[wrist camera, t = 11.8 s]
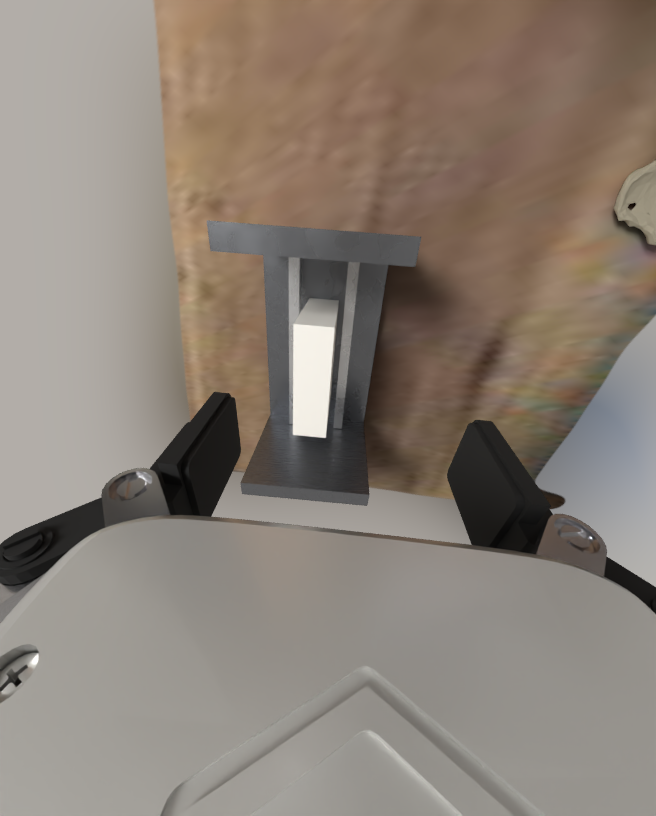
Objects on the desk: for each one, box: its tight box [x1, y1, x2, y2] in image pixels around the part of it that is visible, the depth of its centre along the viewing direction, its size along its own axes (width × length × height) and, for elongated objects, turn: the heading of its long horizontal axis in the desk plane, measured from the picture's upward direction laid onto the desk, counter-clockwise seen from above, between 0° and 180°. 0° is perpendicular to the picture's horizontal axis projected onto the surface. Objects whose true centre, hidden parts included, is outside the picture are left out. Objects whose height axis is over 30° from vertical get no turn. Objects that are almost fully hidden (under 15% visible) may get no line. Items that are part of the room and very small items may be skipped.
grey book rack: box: [207, 221, 421, 506], centre depth 27 cm, size 22×12×13 cm, turn 176°
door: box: [293, 298, 339, 438], centre depth 28 cm, size 10×3×10 cm, turn 176°
